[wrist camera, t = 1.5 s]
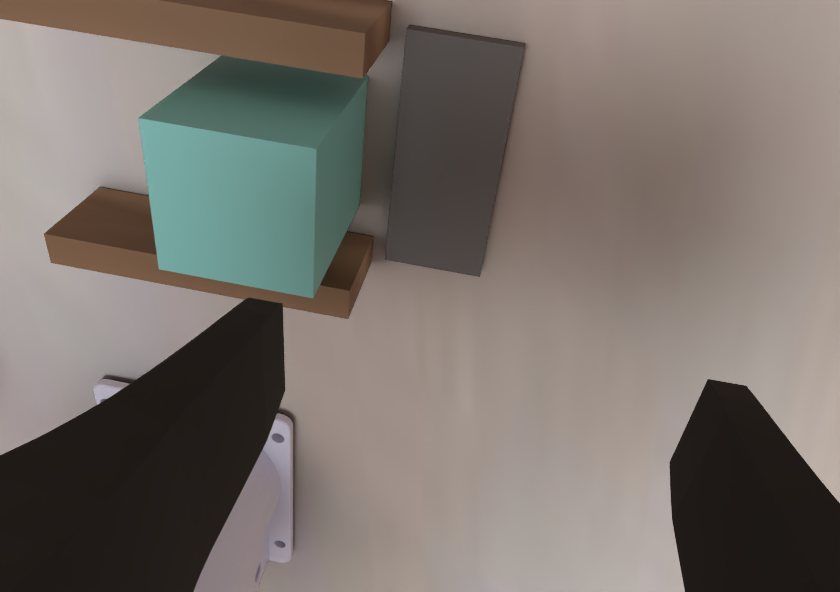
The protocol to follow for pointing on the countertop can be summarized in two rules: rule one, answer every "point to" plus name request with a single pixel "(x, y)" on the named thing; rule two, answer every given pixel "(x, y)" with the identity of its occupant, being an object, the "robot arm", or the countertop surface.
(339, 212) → the block
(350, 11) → the channel
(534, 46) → the countertop surface
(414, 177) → the mat
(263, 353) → the robot arm
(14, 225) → the countertop surface
